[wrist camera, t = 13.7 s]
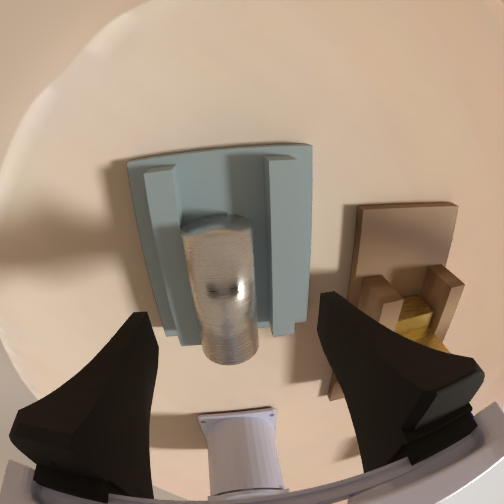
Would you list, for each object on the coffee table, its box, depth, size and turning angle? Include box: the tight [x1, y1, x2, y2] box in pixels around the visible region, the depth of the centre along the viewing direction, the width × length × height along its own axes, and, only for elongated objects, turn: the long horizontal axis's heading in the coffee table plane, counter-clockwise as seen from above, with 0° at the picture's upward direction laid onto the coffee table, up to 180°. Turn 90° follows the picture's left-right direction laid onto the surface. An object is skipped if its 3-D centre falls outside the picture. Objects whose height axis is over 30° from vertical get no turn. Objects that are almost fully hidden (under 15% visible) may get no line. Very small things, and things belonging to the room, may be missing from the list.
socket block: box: [328, 203, 465, 401], centre depth 21 cm, size 20×9×4 cm, turn 2°
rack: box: [127, 144, 312, 346], centre depth 17 cm, size 12×10×3 cm
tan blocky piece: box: [394, 295, 451, 354], centre depth 19 cm, size 3×4×6 cm
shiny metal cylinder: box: [180, 214, 259, 365], centre depth 16 cm, size 8×4×4 cm, turn 2°
